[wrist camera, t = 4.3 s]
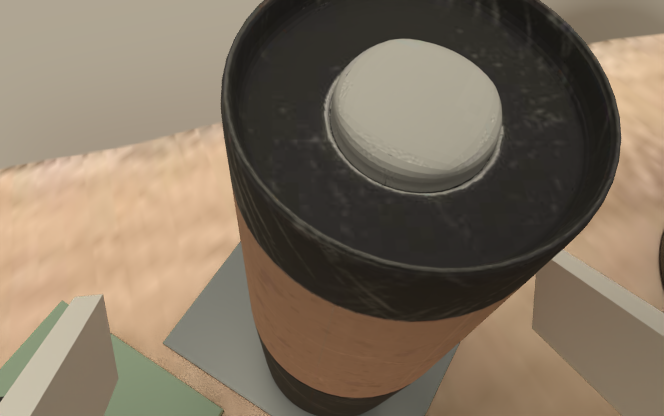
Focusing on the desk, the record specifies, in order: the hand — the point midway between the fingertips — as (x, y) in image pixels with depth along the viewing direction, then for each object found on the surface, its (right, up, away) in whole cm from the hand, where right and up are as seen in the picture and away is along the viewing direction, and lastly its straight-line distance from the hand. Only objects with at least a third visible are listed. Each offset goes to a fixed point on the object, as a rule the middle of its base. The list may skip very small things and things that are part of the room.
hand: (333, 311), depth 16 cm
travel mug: (0, -4, +12) cm, 12 cm away
